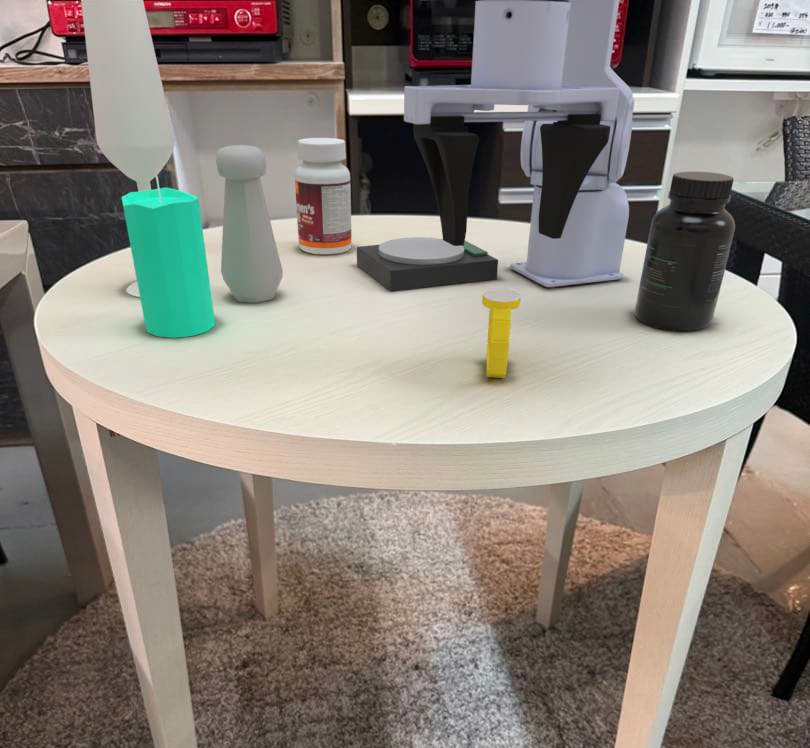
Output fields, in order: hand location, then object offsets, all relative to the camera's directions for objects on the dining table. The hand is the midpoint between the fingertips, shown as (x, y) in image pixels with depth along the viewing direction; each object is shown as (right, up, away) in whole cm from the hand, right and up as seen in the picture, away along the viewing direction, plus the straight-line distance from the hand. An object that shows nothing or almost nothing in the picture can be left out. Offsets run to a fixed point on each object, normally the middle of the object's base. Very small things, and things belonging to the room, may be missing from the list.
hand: (502, 239), depth 53 cm
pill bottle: (-16, +13, +35) cm, 41 cm away
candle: (-27, -3, +13) cm, 30 cm away
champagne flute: (-31, +4, +22) cm, 38 cm away
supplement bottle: (+18, -1, +16) cm, 24 cm away
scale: (-5, +8, +28) cm, 29 cm away
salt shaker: (-21, +2, +20) cm, 30 cm away
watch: (0, -8, +6) cm, 10 cm away
